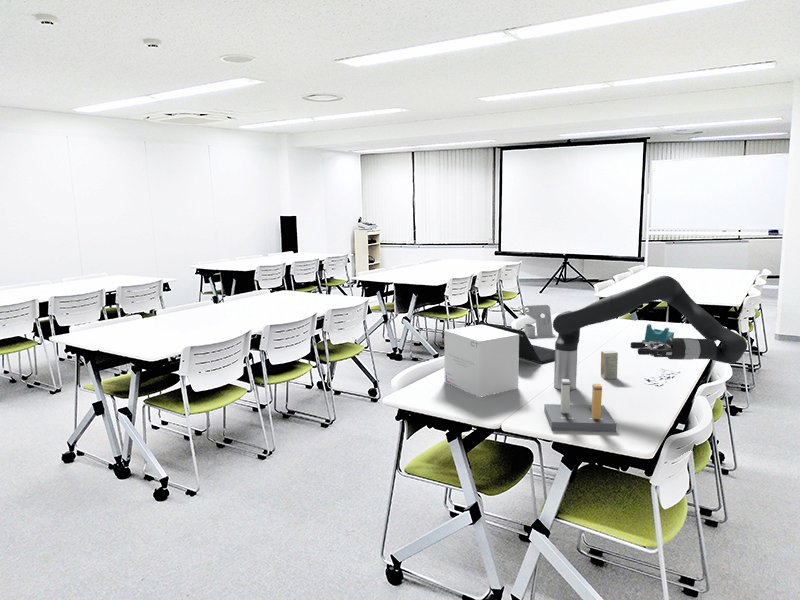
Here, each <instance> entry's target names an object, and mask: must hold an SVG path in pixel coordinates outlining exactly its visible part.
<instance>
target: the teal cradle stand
mask: <svg viewBox="0 0 800 600" xmlns="http://www.w3.org/2000/svg"><path fill="white" fill-rule="evenodd" d="M644 336H645V337H644V340H651V341H657V340H658V341H660V342H662V343H666V341H667V339H668V338H675V337H674V336H675V332H673V331H670V328H669V327H664V330H663V329H657V328H652V324H650V323H648V324H647V325H646V328H645V334H644Z"/></svg>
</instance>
